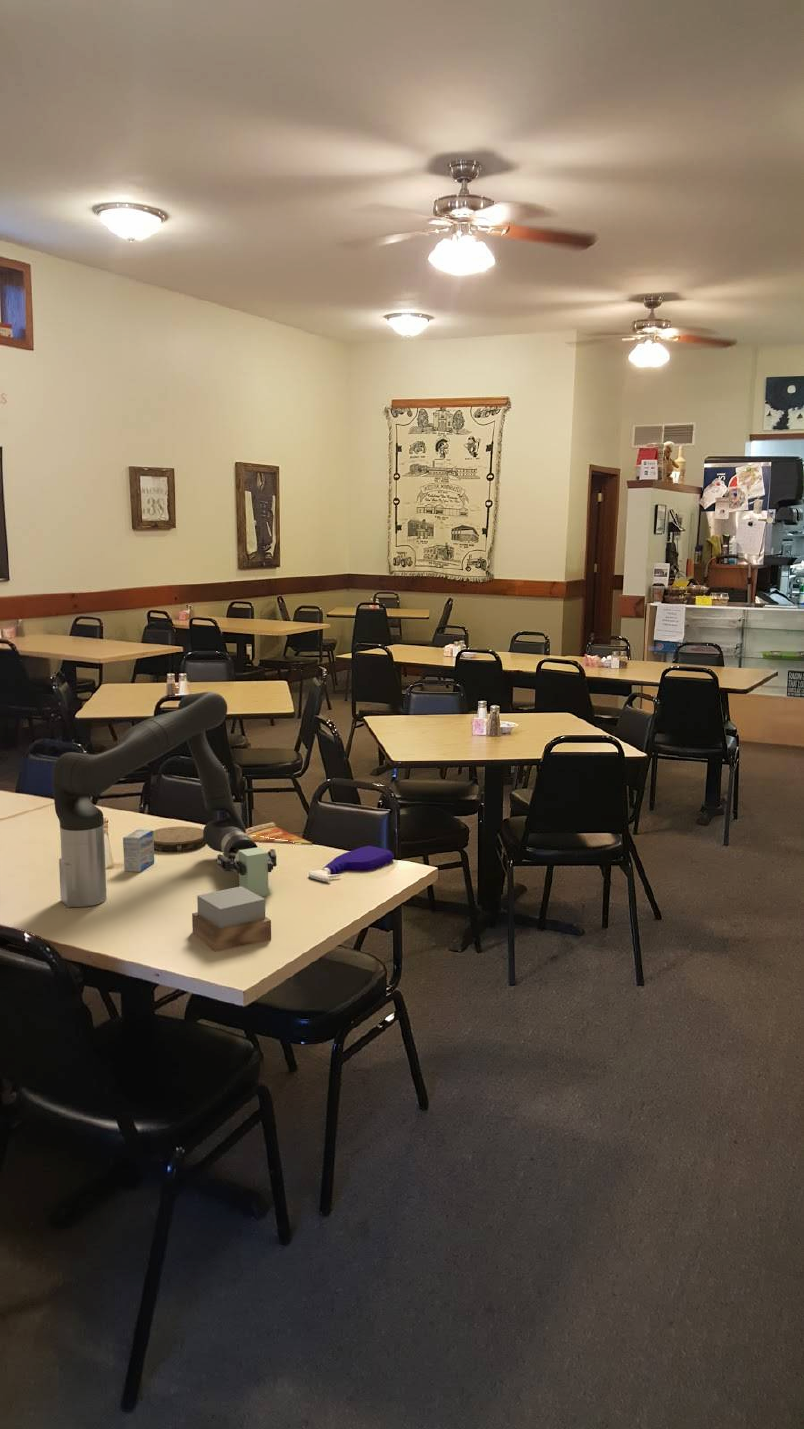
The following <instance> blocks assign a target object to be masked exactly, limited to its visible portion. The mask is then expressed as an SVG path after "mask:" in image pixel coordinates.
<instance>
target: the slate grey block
mask: <svg viewBox="0 0 804 1429" xmlns="http://www.w3.org/2000/svg"><path fill="white" fill-rule="evenodd" d="M196 900H197V901H196V902H197V905H196V906H197V912H198V915H200V916H201V917H203V918H204V919H206V920H207V921H209V922H211V923H212V924H214V925H215V926H217V927H219V928H220V929H222V928H226V927H230V926H234V925H239V924H243V923H247V922H251V921H255V920H260V919H264V918H265V916H266V899H265V898H264V897H263V896H262V897H260V896H259V895H257V894H255V893H253V892H251V891H249V890H247V889H246V888H244V887H242V886H240V887H239V886H236V887H231V888H227V889H222V890H221V889H220V890H217V891H211V892H207V893H202V894H198V895H197V896H196Z"/></svg>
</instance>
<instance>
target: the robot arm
mask: <svg viewBox="0 0 804 1429" xmlns="http://www.w3.org/2000/svg"><path fill="white" fill-rule="evenodd" d="M227 714H228V703H227V701H226V699H225V698H224V696H222V695H221V694H220V693H217V692H214V691H204V692H197V693H193V694H192V693H191V694H188V695H185V696H183V697H182V698H180V700H179V702H178V706H177V710H173V711H169V712H164V713H162V714H158V715H155V716H152V717H149V718H146V719H145V720H142V721H141V722H139V723H137V724H135V725H133V726H131V727H130V728H128V729H127V730H126V731H125V732H124V733H123V735H122V736H121V738H120V741H119V743H118V744H117V745H116V746H114V747H113V748H110V749H109V750H107V751H103V752H101V753H97V754H89V753H88V754H87V753H82V752H81V753H79V752H74V751H73V752H72V751H71V752H70V751H69V752H66V753H63V754H61V755H60V756H59V757H58V758H57V759H56V760H55V762H54V765H53V769H52V793H53V800H54V810H55V815H56V817H57V818H58V822H59V835H60V856H61V858H59V859H58V867H59V868H58V870H59V889H60V901H61V902H62V903H63V904H64V905H65V906H66V908H72V907H75V908H76V907H78V908H81V907H82V908H84V907H91V906H97V905H99V904H102V903H103V902H105V901H106V900H107V874H106V873H107V871H106V851H105V850H106V848H105V844H106V843H105V825H104V823H105V822H104V819H105V818H104V813H103V811H102V810H101V809H100V808H99V807H97V806H96V805H95V804H94V803H93V802H92V801H91V799H90V798H93V797H97V796H98V795H101V794H103V793H104V792H105V791H107V790H108V789H109V788H111V787H112V786H114V785H115V784H116V783H117V782H119V781H121V779H123V778H124V777H126V776H128V775H129V774H131V773H132V772H134V771H136V770H138V769H140V768H141V767H143V766H145V765H147V764H149V763H150V762H153V761H155V760H157V759H158V758H160V757H162V756H164V755H165V754H167V753H168V752H170V751H171V750H173V749H175V748H177V747H178V746H180V745H182V744H184V743H185V742H186V743H187V746H188V748H189V751H190V753H191V756H192V758H193V761H194V764H195V767H196V771H197V774H198V779H199V783H200V786H201V792H202V796H203V797H202V798H203V802H204V806H205V807H204V808H205V809H206V810H207V811H209V812H224V813H226V815H227V817H224V818H220V819H215V820H212V821H209V822H208V823H206V825H205V826H204V827H203V829H204V830H203V837H204V840H205V842H206V846H208V847H209V848H210V850H213V851H215V852H219V853H220V854H217V856H216V857H217V858H216V859H217V860H216V861H217V867H219V868H220V869H222V870H223V871H225V872H227V873H228V872H229V873H230V872H231V871H232V870H233V871H234V872H236V874H238V875H239V874H240V875H244V874H245V870H244V865H243V864H242V863H241V862H239V850H245V849H251V848H257V847H258V844H256V843H257V842H254V841H253V840H252V839H251V838H250V837H249V836H248V835H247V834H246V829H247V828H246V826H245V824H244V821H243V820H242V818H241V816H240V814H239V812H238V810H237V808H236V805H235V803H234V799H233V796H232V791H231V786H230V781H229V777H228V773H227V771H226V770H225V768H224V766H223V765H222V762H220V760H219V759H218V758H217V756H216V755H215V753H214V751H213V750H212V747H211V746H210V744H209V742H208V739H207V736H206V735H207V734H206V731H209V730H212V729H214V728H216V727H219V726H220V725H221V724H222V723H223V722H225V719H226V717H227ZM267 852H268V873H272V871H273V870H274V867H277V853H276V849H273V848H270V849H269V850H268V851H267ZM221 853H222V854H221Z"/></svg>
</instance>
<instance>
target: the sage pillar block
mask: <svg viewBox="0 0 804 1429" xmlns="http://www.w3.org/2000/svg"><path fill="white" fill-rule="evenodd" d="M239 862H241V863H242V864H243V865H244V870H245V874H244V875H240V874H238V880H239V881H238V883H239V886H238V887H240V886H242V887H244V888H246V889H247V890H249V891H251V892H253V893H255V894H257V895H259V896H260V897H262V898H263V897H268V896H269V895H270V894H269V892H270V890H269V872H268V851H266V850H264V849H263V848H261V847H257V848H251V849H245V850H239Z"/></svg>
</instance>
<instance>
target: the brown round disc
mask: <svg viewBox="0 0 804 1429" xmlns="http://www.w3.org/2000/svg"><path fill="white" fill-rule="evenodd" d="M203 830H204V828H200V827H195V826H170V827H169V826H167V827H162V828H158V829H154V830H153V838H154V852H157V853H171V854H172V853H174V854H175V853H184V852H192V851H196V850H199V849H202V848H204V847H206V846H207V844H206V842H205V840H204V837H203Z"/></svg>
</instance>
